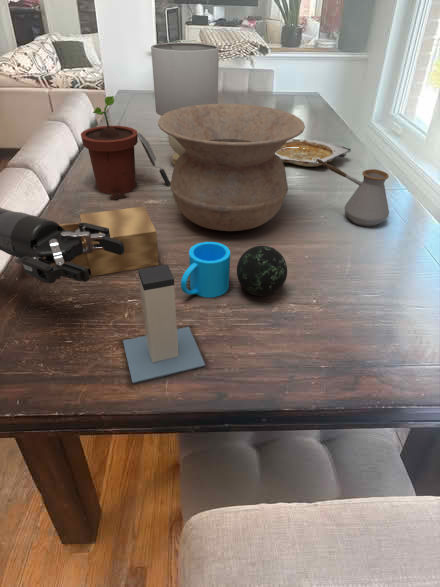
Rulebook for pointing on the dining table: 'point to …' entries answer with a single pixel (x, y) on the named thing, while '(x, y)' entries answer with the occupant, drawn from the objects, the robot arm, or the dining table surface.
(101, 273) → the cabinet
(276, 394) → the dining table surface
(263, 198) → the pot
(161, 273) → the black-capped tall post
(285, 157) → the pizza
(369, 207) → the coffee pot
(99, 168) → the potted plant
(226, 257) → the mug
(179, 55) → the lamp
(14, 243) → the robot arm
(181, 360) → the mat
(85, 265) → the drawer
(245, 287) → the decorative stone
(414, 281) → the dining table surface
